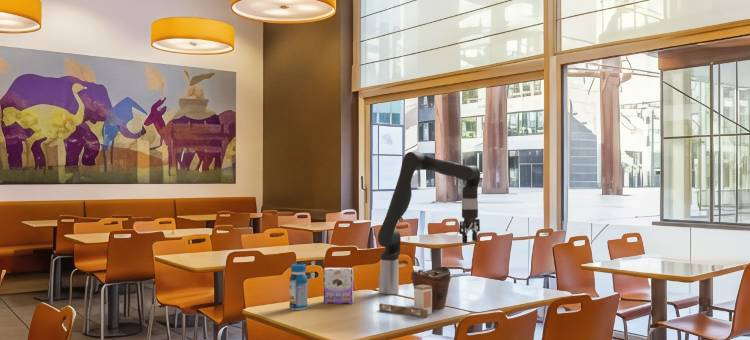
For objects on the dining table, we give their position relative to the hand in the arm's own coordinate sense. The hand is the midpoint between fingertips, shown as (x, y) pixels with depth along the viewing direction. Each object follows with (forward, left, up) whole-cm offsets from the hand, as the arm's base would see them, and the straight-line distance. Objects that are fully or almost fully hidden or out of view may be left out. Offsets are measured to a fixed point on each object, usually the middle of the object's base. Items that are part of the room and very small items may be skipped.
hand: (469, 242), depth 305 cm
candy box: (-53, -33, -29) cm, 69 cm away
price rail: (-15, -36, -29) cm, 49 cm away
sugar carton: (-8, -31, -29) cm, 43 cm away
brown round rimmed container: (-12, -16, -29) cm, 36 cm away
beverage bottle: (-60, -54, -29) cm, 86 cm away
